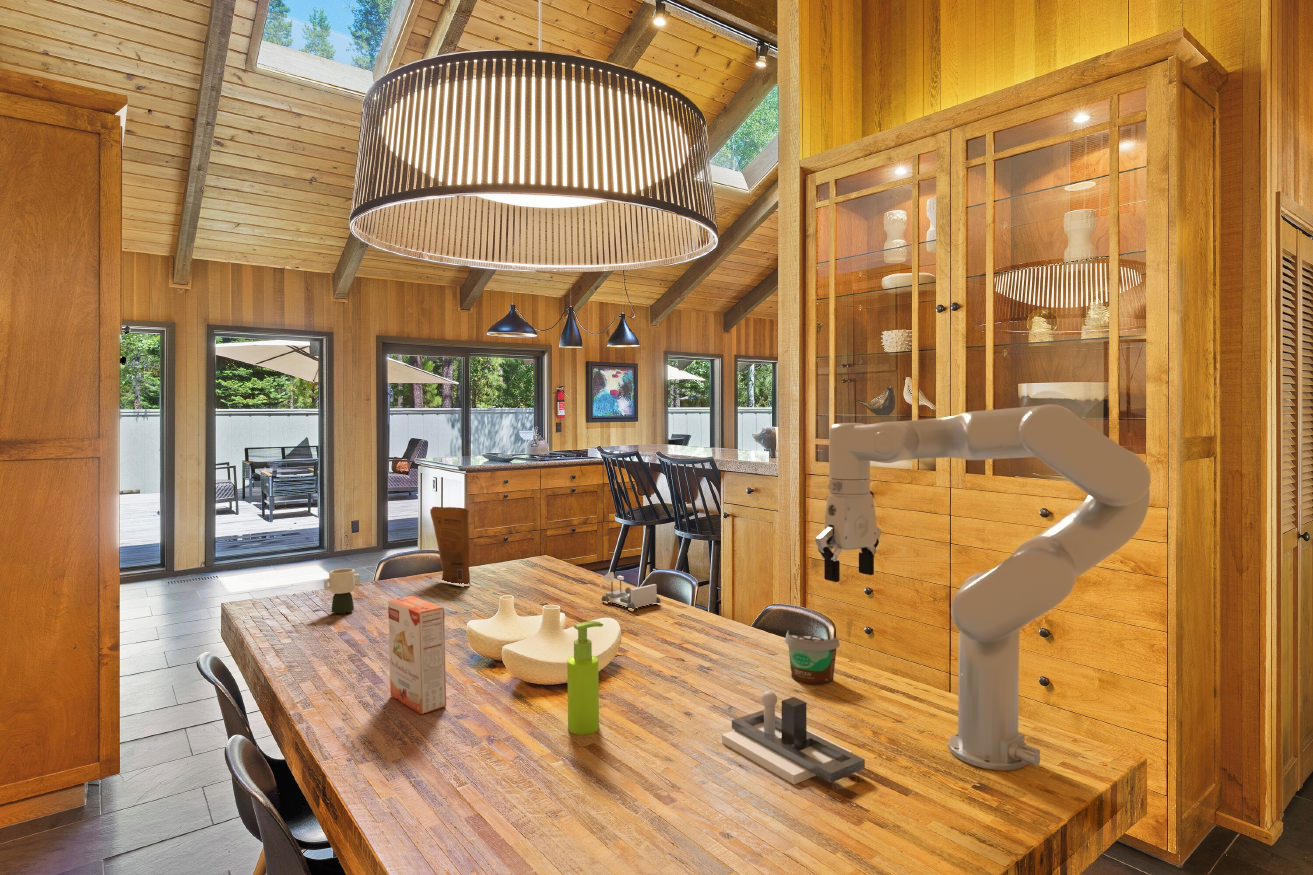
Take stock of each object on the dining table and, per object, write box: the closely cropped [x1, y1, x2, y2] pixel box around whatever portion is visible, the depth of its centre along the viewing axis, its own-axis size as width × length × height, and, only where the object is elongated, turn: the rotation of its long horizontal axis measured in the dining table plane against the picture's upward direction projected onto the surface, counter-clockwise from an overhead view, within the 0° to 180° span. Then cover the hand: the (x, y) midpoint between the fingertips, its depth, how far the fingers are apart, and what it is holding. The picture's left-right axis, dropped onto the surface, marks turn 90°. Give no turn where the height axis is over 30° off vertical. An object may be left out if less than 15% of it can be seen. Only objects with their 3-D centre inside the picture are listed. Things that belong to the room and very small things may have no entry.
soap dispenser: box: [566, 620, 604, 736], centre depth 135 cm, size 6×7×20 cm
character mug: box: [323, 568, 361, 614], centre depth 217 cm, size 11×7×13 cm, turn 139°
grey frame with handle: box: [731, 696, 866, 784], centre depth 123 cm, size 24×8×8 cm, turn 34°
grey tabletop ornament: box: [601, 571, 662, 610], centre depth 226 cm, size 18×10×12 cm
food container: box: [784, 629, 840, 686], centre depth 158 cm, size 12×6×10 cm, turn 62°
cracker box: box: [387, 595, 447, 715], centre depth 148 cm, size 14×6×21 cm, turn 45°
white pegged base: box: [721, 690, 853, 785], centre depth 125 cm, size 18×14×9 cm
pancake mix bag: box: [429, 506, 471, 585], centre depth 253 cm, size 7×19×28 cm, turn 52°
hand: (849, 577), depth 135 cm, fingers open, 9 cm apart
